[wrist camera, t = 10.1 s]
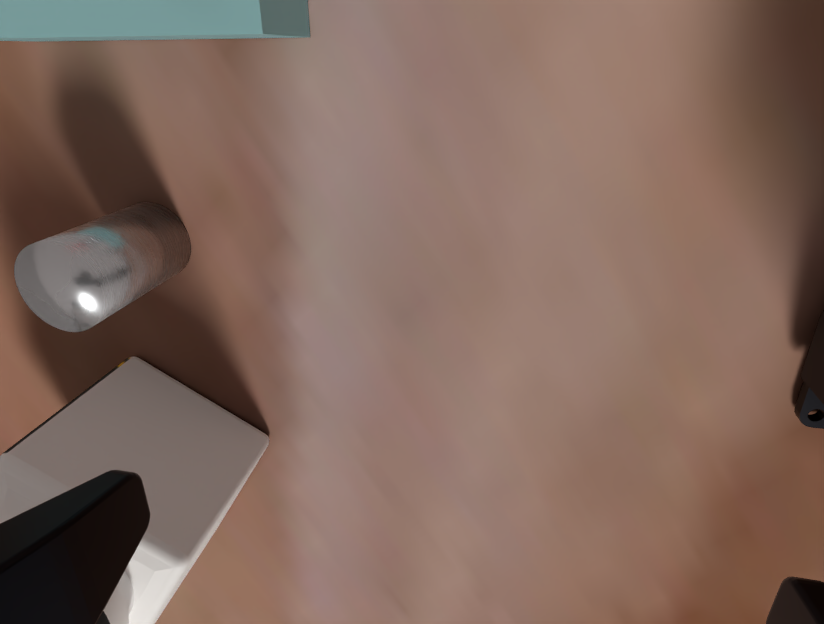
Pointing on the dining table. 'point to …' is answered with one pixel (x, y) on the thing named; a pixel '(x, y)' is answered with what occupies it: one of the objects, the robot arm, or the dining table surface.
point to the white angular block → (140, 472)
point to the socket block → (151, 19)
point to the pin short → (101, 265)
